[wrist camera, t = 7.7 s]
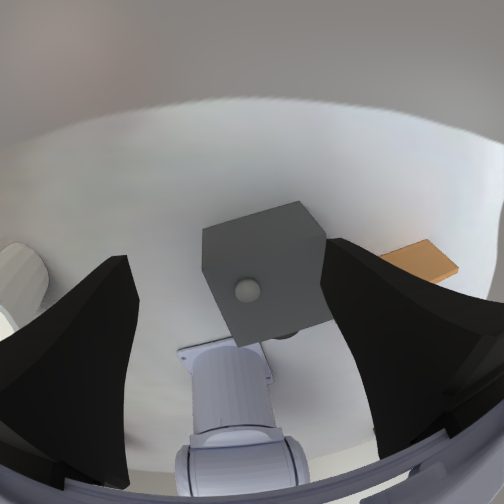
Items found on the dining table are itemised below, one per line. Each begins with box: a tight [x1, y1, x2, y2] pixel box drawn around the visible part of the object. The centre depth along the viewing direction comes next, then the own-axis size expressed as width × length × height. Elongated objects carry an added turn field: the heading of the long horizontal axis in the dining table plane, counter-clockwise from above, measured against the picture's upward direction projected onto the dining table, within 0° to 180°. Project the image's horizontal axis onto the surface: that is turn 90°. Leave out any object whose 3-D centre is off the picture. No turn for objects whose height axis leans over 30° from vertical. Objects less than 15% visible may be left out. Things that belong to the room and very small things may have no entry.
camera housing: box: [202, 201, 334, 348], centre depth 19 cm, size 8×7×6 cm
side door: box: [334, 239, 459, 324], centre depth 21 cm, size 12×1×5 cm, turn 104°
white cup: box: [0, 243, 49, 341], centre depth 15 cm, size 7×7×7 cm
